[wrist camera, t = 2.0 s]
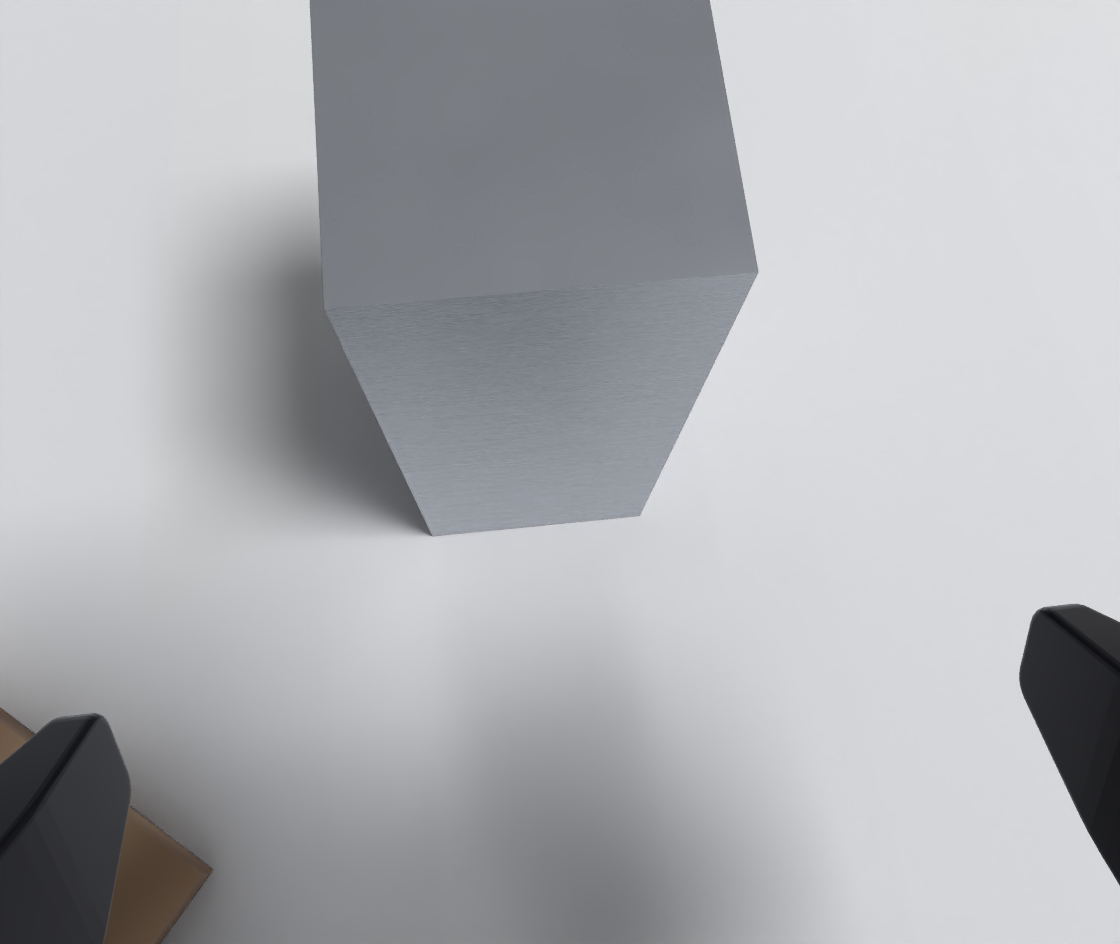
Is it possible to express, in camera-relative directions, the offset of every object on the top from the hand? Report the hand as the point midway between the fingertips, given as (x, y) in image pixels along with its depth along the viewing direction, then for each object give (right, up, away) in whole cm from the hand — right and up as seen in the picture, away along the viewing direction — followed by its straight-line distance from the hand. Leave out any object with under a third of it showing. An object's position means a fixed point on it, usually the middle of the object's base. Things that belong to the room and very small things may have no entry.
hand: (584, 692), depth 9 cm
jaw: (-1, +3, +14) cm, 15 cm away
